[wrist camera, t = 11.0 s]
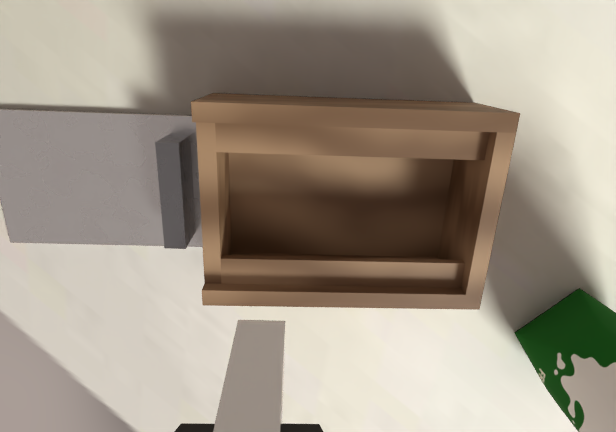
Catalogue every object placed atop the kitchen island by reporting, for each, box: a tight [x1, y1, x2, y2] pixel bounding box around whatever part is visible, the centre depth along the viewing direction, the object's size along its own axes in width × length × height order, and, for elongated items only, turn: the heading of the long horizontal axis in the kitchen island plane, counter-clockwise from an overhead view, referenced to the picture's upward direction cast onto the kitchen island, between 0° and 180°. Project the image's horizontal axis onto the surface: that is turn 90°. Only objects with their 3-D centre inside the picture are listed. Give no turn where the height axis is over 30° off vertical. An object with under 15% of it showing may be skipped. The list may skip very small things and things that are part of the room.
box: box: [191, 93, 520, 309], centre depth 31 cm, size 14×20×7 cm
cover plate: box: [0, 109, 203, 249], centre depth 32 cm, size 11×17×4 cm, turn 88°
